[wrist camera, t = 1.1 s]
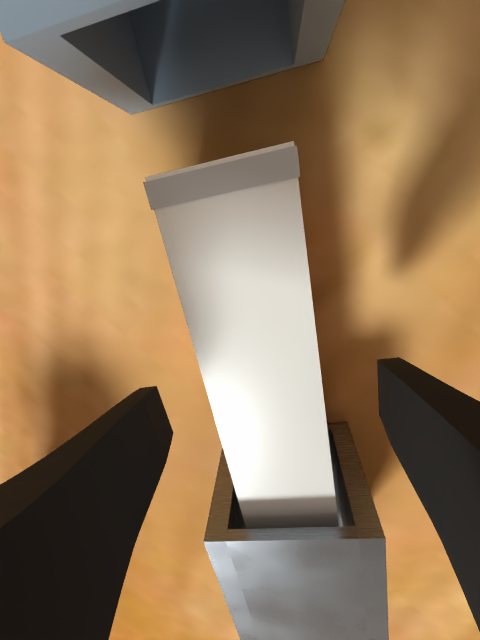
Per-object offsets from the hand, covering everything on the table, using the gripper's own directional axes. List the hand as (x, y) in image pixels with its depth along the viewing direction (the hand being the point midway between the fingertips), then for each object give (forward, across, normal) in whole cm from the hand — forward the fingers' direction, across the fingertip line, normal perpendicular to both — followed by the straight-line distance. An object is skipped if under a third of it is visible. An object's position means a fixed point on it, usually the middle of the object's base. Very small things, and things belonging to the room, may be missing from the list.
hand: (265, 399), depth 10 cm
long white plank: (+4, 0, +2) cm, 4 cm away
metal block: (+4, 0, +8) cm, 9 cm away
